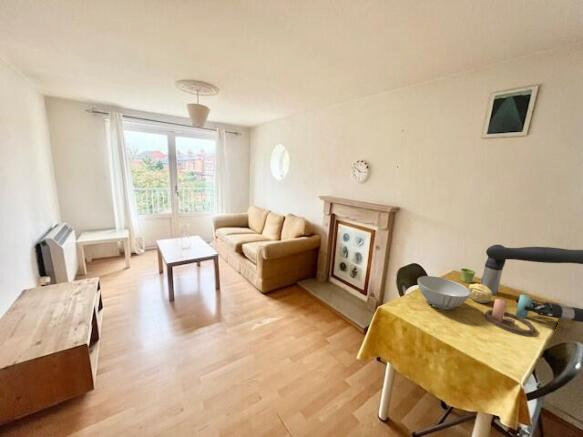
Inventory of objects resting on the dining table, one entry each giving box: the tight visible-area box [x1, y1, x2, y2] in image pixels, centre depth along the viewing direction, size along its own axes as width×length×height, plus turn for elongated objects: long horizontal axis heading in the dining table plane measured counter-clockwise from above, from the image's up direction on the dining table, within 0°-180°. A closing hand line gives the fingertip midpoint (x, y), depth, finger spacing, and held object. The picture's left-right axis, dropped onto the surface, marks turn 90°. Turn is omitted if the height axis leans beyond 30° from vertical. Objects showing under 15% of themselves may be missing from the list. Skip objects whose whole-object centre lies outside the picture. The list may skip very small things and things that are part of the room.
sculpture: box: [468, 282, 493, 304], centre depth 148 cm, size 12×12×11 cm
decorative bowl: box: [417, 275, 471, 310], centre depth 141 cm, size 27×27×12 cm
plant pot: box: [460, 267, 477, 284], centre depth 176 cm, size 9×9×9 cm
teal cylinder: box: [515, 294, 533, 320], centre depth 132 cm, size 5×5×12 cm
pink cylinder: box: [490, 298, 508, 324], centre depth 125 cm, size 5×5×12 cm
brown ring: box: [484, 309, 536, 336], centre depth 125 cm, size 19×19×2 cm
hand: (520, 304), depth 132 cm, fingers open, 8 cm apart
